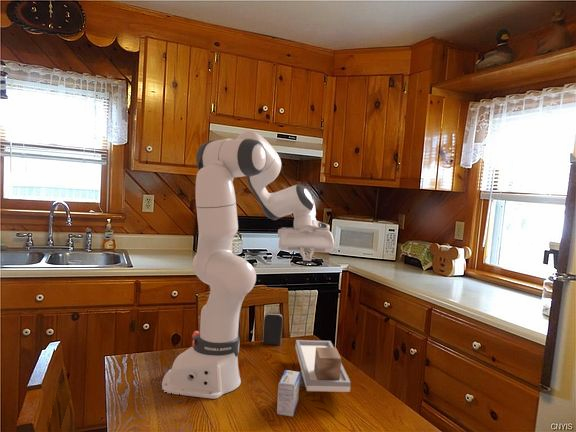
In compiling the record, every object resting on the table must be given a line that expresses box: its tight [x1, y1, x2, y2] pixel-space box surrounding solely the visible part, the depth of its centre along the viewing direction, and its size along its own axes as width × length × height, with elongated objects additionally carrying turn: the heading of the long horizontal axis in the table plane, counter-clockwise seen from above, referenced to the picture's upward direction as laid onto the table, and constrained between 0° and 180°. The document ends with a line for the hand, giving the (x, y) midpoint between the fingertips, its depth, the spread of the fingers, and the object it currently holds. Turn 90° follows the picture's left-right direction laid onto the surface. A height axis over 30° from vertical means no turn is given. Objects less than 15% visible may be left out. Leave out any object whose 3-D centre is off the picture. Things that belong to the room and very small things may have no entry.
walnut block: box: [314, 347, 342, 380], centre depth 115 cm, size 6×7×7 cm
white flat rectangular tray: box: [294, 339, 352, 393], centre depth 124 cm, size 12×28×3 cm, turn 5°
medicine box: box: [276, 369, 300, 417], centre depth 108 cm, size 8×4×9 cm, turn 168°
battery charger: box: [262, 312, 284, 346], centre depth 150 cm, size 7×4×11 cm, turn 91°
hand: (307, 259), depth 142 cm, fingers closed
